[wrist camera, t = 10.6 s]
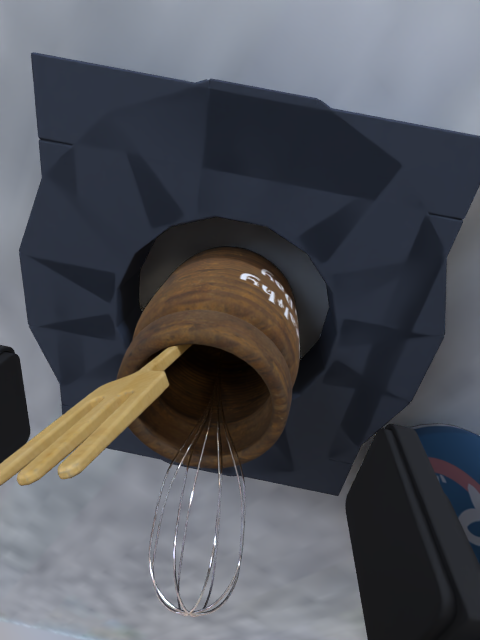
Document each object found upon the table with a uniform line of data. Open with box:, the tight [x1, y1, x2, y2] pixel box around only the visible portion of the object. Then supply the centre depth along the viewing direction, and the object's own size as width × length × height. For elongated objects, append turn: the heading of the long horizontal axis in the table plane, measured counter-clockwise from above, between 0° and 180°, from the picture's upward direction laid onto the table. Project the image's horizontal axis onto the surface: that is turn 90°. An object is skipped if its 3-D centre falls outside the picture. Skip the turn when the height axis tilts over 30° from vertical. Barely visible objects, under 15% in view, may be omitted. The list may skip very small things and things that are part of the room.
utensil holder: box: [0, 247, 300, 617], centre depth 11 cm, size 6×6×12 cm
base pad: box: [19, 53, 480, 496], centre depth 15 cm, size 16×16×2 cm
